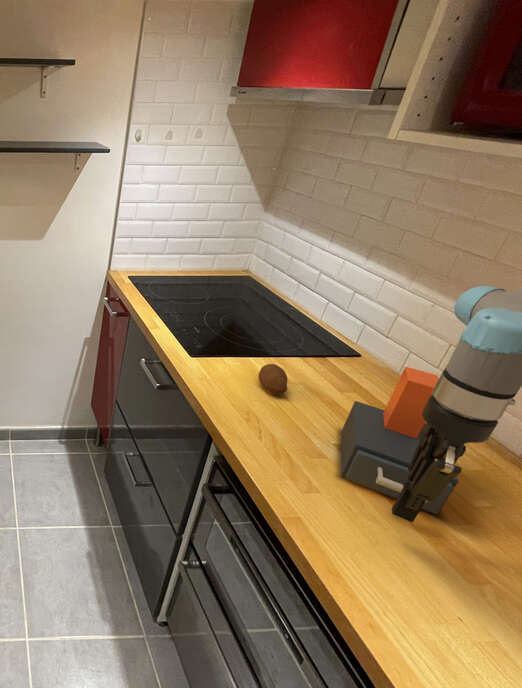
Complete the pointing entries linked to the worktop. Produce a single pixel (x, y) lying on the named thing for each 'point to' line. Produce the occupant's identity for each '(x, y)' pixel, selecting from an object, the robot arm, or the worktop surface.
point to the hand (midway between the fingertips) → (401, 515)
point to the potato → (273, 379)
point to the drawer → (387, 477)
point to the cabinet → (376, 440)
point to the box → (409, 402)
